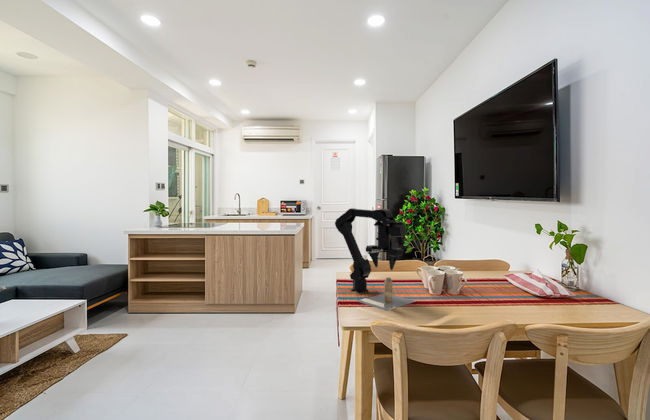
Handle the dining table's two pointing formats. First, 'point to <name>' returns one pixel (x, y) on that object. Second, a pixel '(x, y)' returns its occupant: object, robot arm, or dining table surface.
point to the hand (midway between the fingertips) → (383, 268)
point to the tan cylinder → (388, 293)
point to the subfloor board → (379, 301)
